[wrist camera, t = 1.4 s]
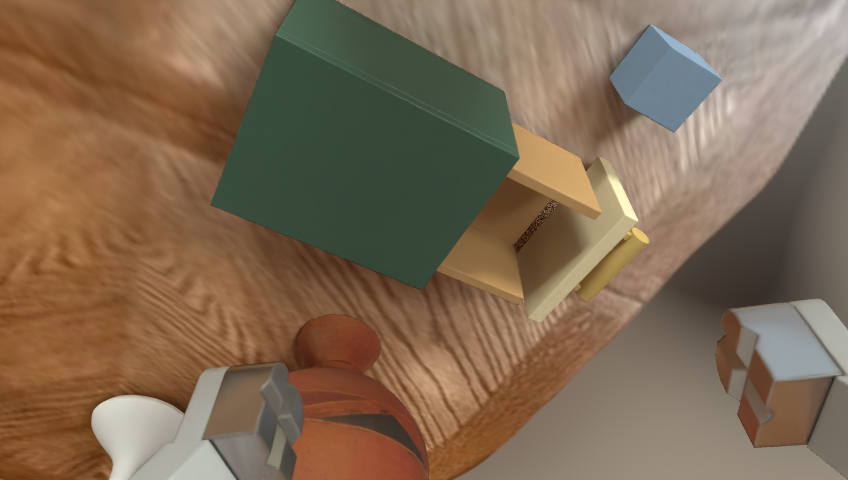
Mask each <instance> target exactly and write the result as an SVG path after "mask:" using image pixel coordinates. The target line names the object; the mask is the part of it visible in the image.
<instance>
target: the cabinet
mask: <svg viewBox="0 0 848 480" xmlns="http://www.w3.org/2000/svg"><path fill="white" fill-rule="evenodd" d="M519 159H520V156H519V152H518V147H517V143H516V139H515V135H514V130H513V126H512V122H511V118H510V114H509V110H508V105H507V101H506V97H505V93H504V91H502V90H500V89H498V88H496V87H494V86H493V85H491V84H489V83H487V82H485V81H483V80H482V79H480V78H478V77H476V76H474V75H472V74H470V73H469V72H467V71H465V70H463V69H461V68H459V67H458V66H456V65H454V64H452V63H450V62H448V61H446V60H445V59H443V58H441V57H439V56H437V55H435V54H434V53H432V52H430V51H428V50H426V49H424V48H422V47H421V46H419V45H417V44H415V43H413V42H411V41H410V40H408V39H406V38H404V37H402V36H400V35H398V34H397V33H395V32H393V31H391V30H389V29H387V28H386V27H384V26H382V25H380V24H378V23H376V22H374V21H373V20H371V19H369V18H367V17H365V16H363V15H362V14H360V13H358V12H356V11H354V10H352V9H350V8H349V7H347V6H345V5H343V4H341V3H339V2H338V1H336V0H296V1H295V3H294V5H293V6H292V8H291V9H290V11H289V13H288V14H287V16H286V17H285V19H284V21H283V22H282V24H281V25H280V27H279V29H278V30H277V32H276V33H275V36H274V38H273V41H272V43H271V46H270V49H269V51H268V54H267V57H266V59H265V62H264V65H263V67H262V70H261V72H260V75H259V78H258V80H257V83H256V86H255V88H254V91H253V93H252V96H251V99H250V101H249V104H248V107H247V109H246V112H245V115H244V117H243V120H242V122H241V125H240V128H239V130H238V133H237V136H236V138H235V141H234V144H233V146H232V149H231V151H230V154H229V157H228V159H227V162H226V165H225V167H224V170H223V173H222V175H221V178H220V180H219V183H218V186H217V188H216V191H215V194H214V196H213V199H212V202H211V206H214V207H216V208H219V209H221V210H224V211H226V212H229V213H231V214H234V215H236V216H239V217H241V218H244V219H246V220H249V221H251V222H254V223H256V224H259V225H261V226H264V227H266V228H269V229H271V230H274V231H276V232H278V233H281V234H283V235H286V236H288V237H291V238H293V239H296V240H298V241H301V242H303V243H306V244H308V245H311V246H313V247H316V248H318V249H321V250H323V251H326V252H328V253H331V254H333V255H336V256H338V257H341V258H343V259H346V260H348V261H351V262H353V263H356V264H358V265H361V266H363V267H366V268H368V269H370V270H373V271H375V272H378V273H380V274H383V275H385V276H388V277H390V278H393V279H395V280H398V281H400V282H403V283H405V284H408V285H410V286H413V287H415V288H418V289H420V290H422V289H423V288H424V286H425V285H426V284H427V282H428V281H429V280H430V278H431V277H432V276H433V274H434V273H435V272H436V270H437V269H438V267H439V266H440V265H441V263H442V262H443V261H444V259H445V258H446V257H447V255H448V254H449V253H450V251H451V250H452V249H453V247H454V246H455V245H456V243H457V242H458V241H459V239H460V238H461V237H462V235H463V234H464V233H465V231H466V230H467V229H468V227H469V226H470V224H471V223H472V222H473V220H474V219H475V218H476V216H477V215H478V214H479V212H480V211H481V210H482V208H483V207H484V206H485V204H486V203H487V202H488V200H489V199H490V198H491V196H492V195H493V194H494V192H495V191H496V190H497V188H498V187H499V186H500V184H501V183H502V182H503V180H504V179H505V177H506V176H507V175H508V173H509V172H510V171H511V169H512V168H513V167H514V165H515V164H516V163H517V161H518V160H519Z"/></svg>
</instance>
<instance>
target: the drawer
mask: <svg viewBox="0 0 848 480" xmlns="http://www.w3.org/2000/svg"><path fill="white" fill-rule="evenodd" d="M512 126H513V130H514V135H515V139H516V143H517V147H518V152H519V156H520V159H519V160H518V161H517V163H516V164H515V165H514V167H513V168H512V169H511V171H510V172H509V173H508V175H507V176H506V177H505V179H504V180H503V182H502V183H501V184H500V186H499V187H498V188H497V190H496V191H495V192H494V194H493V195H492V196H491V198H490V199H489V200H488V202H487V203H486V204H485V206H484V207H483V208H482V210H481V211H480V212H479V214H478V215H477V216H476V218H475V219H474V220H473V222H472V223H471V224H470V226H469V227H468V229H467V230H466V231H465V233H464V234H463V235H462V237H461V238H460V239H459V241H458V242H457V243H456V245H455V246H454V247H453V249H452V250H451V251H450V253H449V254H448V255H447V257H446V258H445V259H444V261H443V262H442V263H441V265H440V266H439V267H438V269H437V270H436V271H438V272H440V273H443V274H445V275H447V276H450V277H452V278H455V279H457V280H459V281H462V282H464V283H467V284H469V285H471V286H474V287H476V288H479V289H481V290H483V291H486V292H488V293H491V294H493V295H495V296H498V297H500V298H503V299H505V300H507V301H510V302H512V303H515V304H517V305H519V303H520V302H521V301H522V300H523V299H524V301H525V306H526V312H527V317H528V319H531V320H533V321H536V322H538V323H541V322H542V321H543V319H544V318H545V317H546V316H547V315H548V314H549V313H550V312H551V311H552V310H553V309H554V308H555V307H556V306H557V305H558V304H559V303H560V302H561V301H562V300H563V299H564V298H565V297H566V296H567V295H568V294H569V293H570V292H571V291H572V290H575V292H576V294H577V295H578V297H579V298H581V299H582V300H584V301H586V302H589V301H591V300H592V299H593V298H594V297H595V296H596V295H597V294H598V293H599V292H600V291H601V290H602V289H603V288H604V287H605V286H606V285H607V284H608V283H609V282H610V281H611V280H612V279H613V278H614V277H615V276H616V275H617V274H618V273H619V272H620V271H621V270H622V269H623V268H624V267H625V266H626V265H627V264H628V263H629V262H630V261H631V260H632V259H633V258H634V257H635V256H636V255H637V254H638V253H639V252H640V251H641V250H642V249H643V248H644V247H645V246H646V245H647V244H648V243H649V239H648V237H647V236H646V235H645V234H644V233H643V232H642V231H640V230H638V229H636V228H633V227H634V226H635V225H636V224H637V222H638V219H637V217H636V215H635V213H634V211H633V209H632V207H631V205H630V202H629V200H628V198H627V196H626V194H625V192H624V190H623V188H622V186H621V184H620V181H619V179H618V177H617V175H616V173H615V171H614V169H613V167H612V165H611V163H610V162H609V161H607V160H605V159H603V158H601V157H598V158H597V159H596V160H595V161H594V162H593V164H592V165H591V166H590V167H589V168H588V170H587V171H585V169H584V166H583V164H582V161H581V159H580V157H578V156H576V155H574V154H572V153H570V152H568V151H566V150H564V149H563V148H561V147H559V146H557V145H555V144H553V143H551V142H549V141H547V140H545V139H544V138H542V137H540V136H538V135H536V134H534V133H532V132H530V131H528V130H526V129H525V128H523V127H521V126H519V125H517V124H515V123H513V122H512ZM551 200H554V201H556V202H558V203H559V204H558V205H557V206H556V208H555V209H554V210H553V211H552V212H551V214H550V215H549V216H548V217H547V218H546V220H545V221H544V222H543V223H542V224H541V225H540V227H539V228H538V229H537V230H536V231H535V233H534V234H533V235H532V236H531V237H530V239H529V240H528V241H527V242H526V243H525V245H524V246H523V247H522V248H521V249H520V250H519V252H518V253H517V254H516V253H515V247H514V244H515V243H516V242H517V241H518V240H519V238H520V237H521V236H522V235H523V234H524V232H525V231H526V230H527V229H528V227H529V226H530V225H531V224H532V223H533V221H534V220H535V219H536V218H537V217H538V215H539V214H540V213H541V212H542V211H543V209H544V208H545V207H546V206H547V204H548V203H549V202H550V201H551ZM621 239H622V240H621ZM620 240H621V241H620ZM619 241H620V242H619ZM618 242H619V243H618ZM617 243H618V244H617ZM616 244H617V245H616ZM615 245H616V246H615ZM614 246H615V247H614ZM613 247H614V248H613ZM612 248H613V249H612ZM611 249H612V250H611ZM610 250H611V251H610ZM609 251H610V252H609ZM608 252H609V253H608ZM607 253H608V254H607ZM606 254H607V255H606ZM516 257H517V258H516ZM517 262H518V264H517ZM518 268H519V269H518ZM590 271H591V272H590ZM589 272H590V273H589ZM519 273H520V275H519ZM588 273H589V274H588ZM587 274H588V275H587ZM586 275H587V276H586ZM585 276H586V277H585ZM584 277H585V278H584ZM583 278H584V279H583ZM520 279H521V280H520ZM582 279H583V280H582ZM581 280H582V281H581ZM580 281H581V282H580ZM521 284H522V286H521ZM522 290H523V291H522ZM523 295H524V297H523Z"/></svg>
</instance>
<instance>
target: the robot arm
mask: <svg viewBox="0 0 848 480" xmlns="http://www.w3.org/2000/svg"><path fill="white" fill-rule="evenodd" d="M721 326H722V328H723V330H724V332H725V336H723V337H722V338H721V339H720V340H719V341H718V342H717V347H716V364H717V370H718V373H719V376H720V380H721V382H722V384H723V386H724V388H725V390H726V393H727V394H729V395H730V396H732V397H733V398H735V399H736V400H738V401H739V402H740V406H739V410H738V414H737V415H738V417H739V419H740V421H741V423H742V425H743V427H744V429H745V431H746V433H747V435H748V436H749V439H750V441H751V442H752V444H753V446H754V448H761V447H775V446H776V447H777V446H792V445H808V446H807V448H809V449H810V450H811V451H813V452H814V453H815V454H816V455H817V456H819V457H820V458H821V459H822V460H824V461H825V462H826V463H827V464H829V465H830V466H831V467H832V468H834V469H835V470H836V471H837V472H839V473H840V474H841V475H842V476H844V477H845V478H846V479H847V480H848V330H847V329H846V327H845V326H844V325H843V324H842V322H841V321H840V320H839V319H838V317H837V316H836V315H835V314H834V312H833V311H832V310H831V309H830V307H829V306H828V305H827V303H826V302H824V301H822V300H821V299H811V300H802V301H794V302H787V303H784V302H783V303H775V304H767V305H760V306H751V307H743V308H735V309H728V310H726V311H725V313H724V314H723V317H722V321H721ZM289 374H290V372H289V371H288V369H287V367H286V365H285V363H284V362H269V363H258V364H247V365H235V366H228V367H217V368H207V369H206V370H205V371H204V372H203V373H202V374H201V375H200V377H199V379H198V382H197V384H196V387H195V389H194V392H193V394H192V397H191V399H190V402H189V404H188V407H187V409H186V412H185V414H184V417H183V419H182V422H181V424H180V427H179V429H178V432H177V434H176V437H175V439H174V442H173V443H168V444H165V445H164V446H163V447H162V448H161V449H160V450H159V451H158V452H157V453H155V454H154V455H153V456H152V457H151V458H150V459H149V460H148V461H147V462H146V463H145V464H144V465H143V466H142V467H141V468H140V469H139V470H138V471H137V472H135V473H134V474H133V475H132V476H131V477H130V478H129V479H128V480H292V478H293V473H294V468H295V463H296V459H297V455H296V454H295V452H294V450H293V448H292V445H293V444H294V443H295V442H296V441H297V439H298V438H299V437H300V436H301V433H302V428H303V422H304V412H303V403H302V398H301V395H300V393H299V391H298V389H297V387H295V386H293V385H292V384H290V383H288V379H289Z"/></svg>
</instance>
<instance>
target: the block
mask: <svg viewBox="0 0 848 480" xmlns="http://www.w3.org/2000/svg"><path fill="white" fill-rule="evenodd" d="M609 79H610V80H611V82H612V84H613V85H614V87H615V89H616V90H617V92H618V94H619V95H620V97H621V99H622V100H623V102H624V103H625V105H627V106H629V107H631V108H632V109H634V110H636V111H637V112H639V113H641V114H643V115H644V116H646V117H648V118H650V119H651V120H653V121H655V122H657V123H658V124H660V125H662V126H663V127H665V128H667V129H669V130H670V131H672V132H675V131H676V130H677V129H678V128H679V127H680V126H681V124H682V123H683V122H684V121H685V120H686V119H687V118H688V117H689V116H690V115H691V113H692V112H693V111H694V110H695V109H696V108H697V107H698V106H699V105H700V104H701V102H702V101H703V100H704V99H705V98H706V97H707V96H708V95H709V94H710V93H711V91H712V90H713V89H714V88H715V87H716V86H717V85H718V84H719V83H720V82H721V80H722V78H721V77H720V76H719V75H718V74H717V73H716V72H715V71H714V70H713V69H712V68H711V67H710V66H709V65H708V64H707V63H706V62H705V61H704V60H703V59H702V58H701V57H700V56H699V55H698V54H697V53H695V52H694V51H692V50H691V49H689V48H688V47H686V46H685V45H683V44H681V43H680V42H678V41H677V40H675V39H674V38H672V37H670V36H669V35H667V34H666V33H664V32H663V31H661V30H659V29H658V28H656V27H655V26H653V25H650V26H649V27H648V28H647V30H646V31H645V32H644V33H643V35H642V36H641V37H640V39H639V40H638V41H637V42H636V44H635V45H634V46H633V48H632V49H631V50H630V51H629V53H628V54H627V55H626V57H625V58H624V59H623V60H622V62H621V63H620V64H619V66H618V67H617V68H616V69H615V71H614V72H613V73H612V75H611V76H610V77H609Z"/></svg>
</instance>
